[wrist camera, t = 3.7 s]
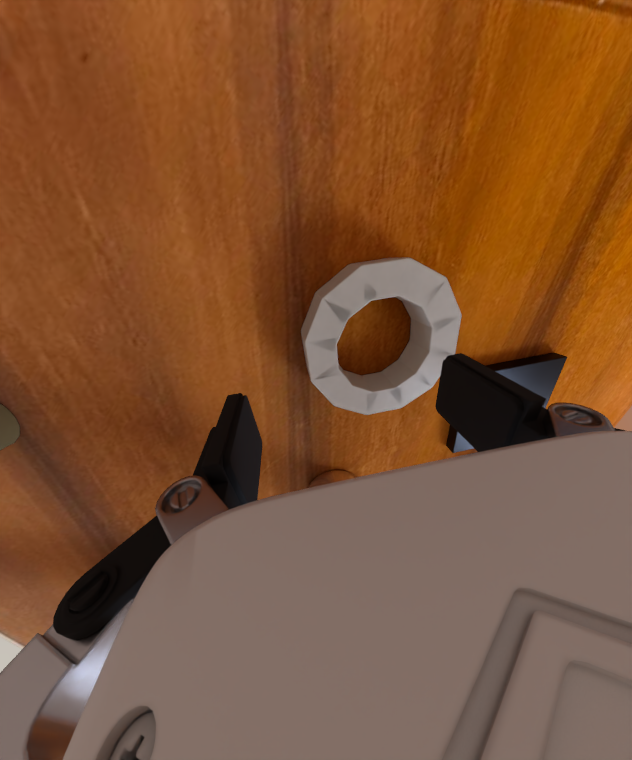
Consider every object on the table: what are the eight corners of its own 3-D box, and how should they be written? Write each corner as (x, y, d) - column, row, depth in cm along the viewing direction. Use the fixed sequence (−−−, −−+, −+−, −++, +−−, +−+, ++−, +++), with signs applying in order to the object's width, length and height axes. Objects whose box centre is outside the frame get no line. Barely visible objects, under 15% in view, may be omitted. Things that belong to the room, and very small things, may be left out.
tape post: (445, 445, 27) (556, 567, 16) (460, 370, 22) (630, 472, 11) (523, 429, 28) (679, 535, 17) (554, 352, 23) (798, 433, 12)
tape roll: (313, 404, 22) (317, 425, 19) (290, 272, 16) (293, 275, 13) (427, 382, 22) (447, 399, 20) (443, 249, 17) (474, 247, 14)
